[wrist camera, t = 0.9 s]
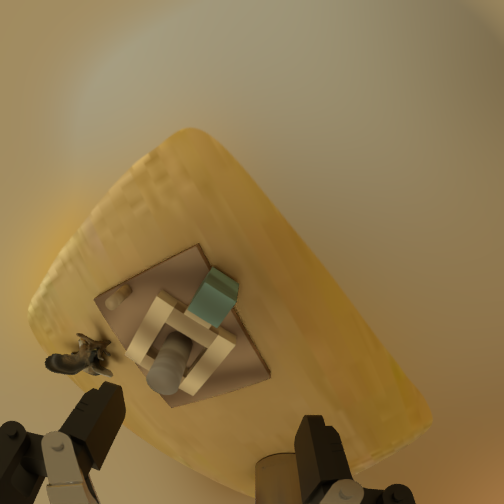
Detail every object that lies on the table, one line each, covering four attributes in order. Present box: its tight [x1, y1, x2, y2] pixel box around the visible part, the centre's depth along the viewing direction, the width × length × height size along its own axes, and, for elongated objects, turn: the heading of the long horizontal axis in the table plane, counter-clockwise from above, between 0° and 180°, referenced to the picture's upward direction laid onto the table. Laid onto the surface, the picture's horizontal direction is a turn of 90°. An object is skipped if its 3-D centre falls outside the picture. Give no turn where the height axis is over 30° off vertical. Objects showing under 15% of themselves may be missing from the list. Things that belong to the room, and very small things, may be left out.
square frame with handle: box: [125, 267, 239, 396], centre depth 26 cm, size 14×9×4 cm, turn 146°
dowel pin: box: [105, 284, 132, 310], centre depth 25 cm, size 1×1×4 cm
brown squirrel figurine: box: [45, 333, 113, 377], centre depth 28 cm, size 8×7×9 cm
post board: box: [93, 243, 271, 408], centre depth 25 cm, size 17×14×8 cm
